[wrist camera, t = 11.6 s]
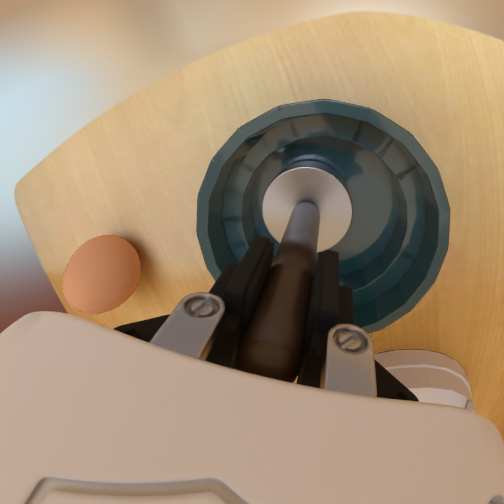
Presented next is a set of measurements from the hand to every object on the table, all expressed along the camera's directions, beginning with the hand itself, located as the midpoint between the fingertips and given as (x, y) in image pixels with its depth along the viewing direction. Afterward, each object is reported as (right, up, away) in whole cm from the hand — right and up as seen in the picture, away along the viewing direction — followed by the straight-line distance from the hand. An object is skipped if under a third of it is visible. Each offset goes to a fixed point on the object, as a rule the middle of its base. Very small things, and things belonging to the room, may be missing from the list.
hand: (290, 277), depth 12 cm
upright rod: (+3, +5, +9) cm, 11 cm away
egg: (-14, +1, +17) cm, 22 cm away
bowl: (+4, +4, +10) cm, 12 cm away
